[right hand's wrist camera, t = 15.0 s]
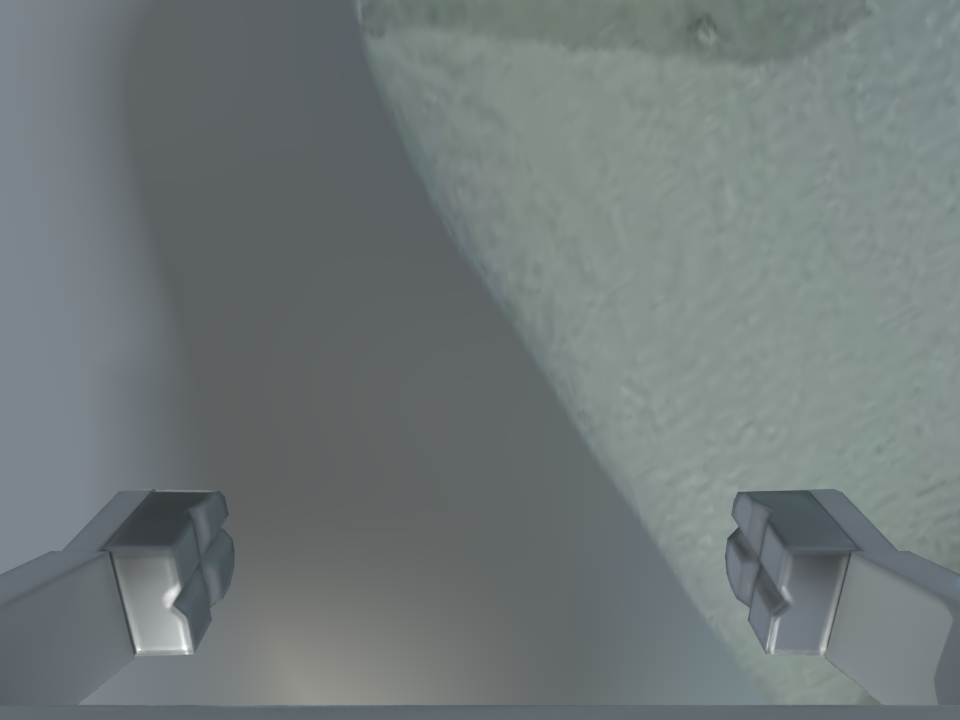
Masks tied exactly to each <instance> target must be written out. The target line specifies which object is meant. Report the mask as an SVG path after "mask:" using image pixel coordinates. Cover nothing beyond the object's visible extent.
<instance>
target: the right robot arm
mask: <svg viewBox="0 0 960 720" xmlns="http://www.w3.org/2000/svg"><path fill="white" fill-rule="evenodd" d="M731 515H732V516H733V518H734V520H735V521H736V523H737V525H738V526H739V527H738V528H737V529H736V530H735V531H734V532H733V533H732V534H731V535H730V536H729V537H728V538H727V546H726V554H725V560H726V571H727V576H728V580H729V583H730V586H731V589H732V591H733V593H734V595H735V597H736V599H738V600H739V601H741V602H742V603H744V604H745V605H747V606H748V607H750V611H749V617H748V621H749V623H750V625H751V627H752V629H753V631H754V633H755V634H756V636H757V638H758V640H759V642H760V644H761V646H762V647H763V649H764V651H765V653H766V654H777V655H814V656H825V659H826V660H827V661H829V662H830V663H831V664H832V665H834V666H835V667H836V668H837V669H839V670H840V671H841V672H842V673H844V674H845V675H846V676H847V677H849V678H850V679H851V680H852V681H854V682H855V683H856V684H857V685H859V686H860V687H861V688H862V689H864V690H865V691H866V692H867V693H869V694H870V695H871V696H872V697H873V698H875V699H876V700H877V701H878V702H880V703H881V704H882V705H78V704H79V703H80V702H82V701H83V700H84V699H85V698H87V697H88V696H89V695H90V694H92V693H93V692H94V691H95V690H97V689H98V688H99V687H100V686H102V685H103V684H104V683H105V682H107V681H108V680H109V679H110V678H112V677H113V676H114V675H115V674H117V673H118V672H119V671H120V670H122V669H123V668H124V667H125V666H127V665H128V664H129V663H130V662H132V661H133V660H134V659H135V656H146V655H181V654H194V653H195V651H196V649H197V647H198V646H199V644H200V642H201V640H202V638H203V636H204V634H205V633H206V631H207V629H208V627H209V625H210V623H211V621H212V617H211V612H210V607H212V606H213V605H215V604H216V603H218V602H219V601H221V600H222V599H224V596H225V594H226V592H227V590H228V588H229V586H230V584H231V579H232V575H233V570H234V546H233V539H232V537H231V536H230V535H229V534H228V533H227V532H226V531H225V530H224V529H223V528H222V527H221V526H222V525H223V523H224V521H225V520H226V518H227V516H228V509H227V504H226V500H225V496H224V495H223V494H222V493H221V492H220V491H202V490H154V489H136V490H124V491H119V492H118V493H117V494H116V495H115V496H114V497H113V498H112V499H111V500H110V501H109V502H108V503H107V504H106V505H105V506H104V507H103V508H102V510H101V511H100V512H99V513H98V514H97V515H96V516H95V517H94V518H93V519H92V520H91V521H90V522H89V523H88V524H87V525H86V526H85V527H84V528H83V529H82V530H81V531H80V532H79V533H78V534H77V535H76V537H75V538H74V539H73V540H72V541H71V542H70V543H69V544H68V545H67V546H66V547H65V548H64V549H63V550H62V551H50V552H48V553H46V554H44V555H42V556H39V557H37V558H35V559H33V560H31V561H29V562H27V563H24V564H22V565H20V566H18V567H16V568H14V569H11V570H9V571H7V572H5V573H3V574H1V575H0V720H960V575H959V574H957V573H955V572H953V571H951V570H949V569H946V568H944V567H942V566H940V565H938V564H936V563H933V562H931V561H929V560H927V559H925V558H923V557H920V556H918V555H916V554H914V553H912V552H910V551H898V550H897V549H896V548H895V547H894V546H893V545H892V544H891V543H890V542H889V541H888V540H887V539H886V538H885V536H884V535H883V534H882V533H881V532H880V531H879V530H878V529H877V528H876V527H875V526H874V525H873V524H872V523H871V522H870V521H869V520H868V519H867V518H866V517H865V516H864V515H863V514H862V512H861V511H860V510H859V509H858V508H857V507H856V506H855V505H854V504H853V503H852V502H851V501H850V500H849V499H848V498H847V497H846V496H845V495H844V494H843V493H842V492H840V491H838V490H835V489H819V490H796V491H757V492H738V493H737V495H736V497H735V500H734V503H733V509H732V514H731Z"/></svg>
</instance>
